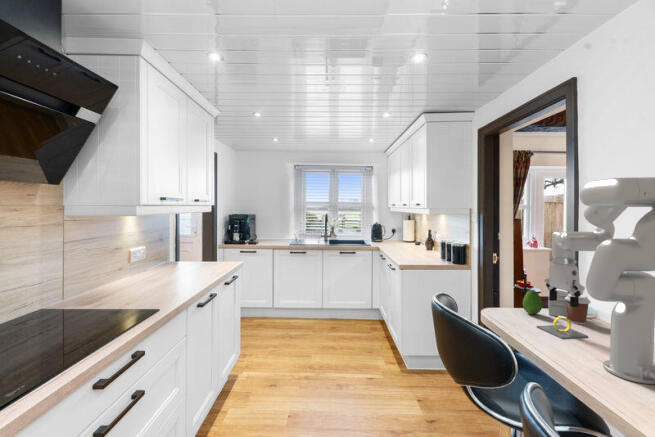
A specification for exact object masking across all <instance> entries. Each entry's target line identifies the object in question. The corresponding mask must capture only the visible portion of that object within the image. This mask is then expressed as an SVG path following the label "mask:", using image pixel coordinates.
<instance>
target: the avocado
mask: <svg viewBox="0 0 655 437" xmlns="http://www.w3.org/2000/svg"><path fill="white" fill-rule="evenodd" d="M522 306H523V310H524V311H525V312H526V313H528V314H529V315H536V314H539V313H541V311H542V309H543V301H542V298H541V297H540V294H539V293H538V292H537V291H536V290H535V289H529V290H527V292H526V293H525V294H524V297H523V299H522Z"/></svg>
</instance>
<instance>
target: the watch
mask: <svg viewBox="0 0 655 437" xmlns="http://www.w3.org/2000/svg"><path fill="white" fill-rule="evenodd" d="M559 320H562V321H563V320H566V322H567V326H566V327H567V328H566V329H565V330H559V329H557V328H556V325H557V322H558V321H559ZM552 325H553V326H554V328H555V329H556V330H558V331H564V332H567V331H568V330H570V329H572V322H570V321H569V320H568V317H567V318H566V317H564V316H556V318H554V320H553V321H552Z"/></svg>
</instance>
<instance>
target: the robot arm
mask: <svg viewBox="0 0 655 437" xmlns="http://www.w3.org/2000/svg"><path fill="white" fill-rule="evenodd" d="M579 200H580V201H581V203H582V204H583V205H584V206H587V208H586V209H585V210H584V211H583V217H584V219H585V220H586V221H587V222H588V223H589V224H590V225H593V226H595V227H596V228H595V229H594V230H593V231H554V232H553V233H552V234H551V235H552V236H551V238H552V239H551V240H552V241H551V243H552V244H551V265H550V269H549V277H547V278H545V279H544V282H545V286H546V287H547V291H548V301H549V300H550V301H556V300H557V291H555V290H556V289H557V288H558V289H562V290H566V291H568V294H571V296H570V306H571V307H578V306H579V297H580V295H584V291H585V289H586V291H587V294H588V295H589V297H591V298H592V299H594V300H597V301H599V302H608V303H611V302H613V303H615V304H614V306H613V309H612V310H611V315H610V316H611V318H610V341H609V342H610V344H609V359H608V360H605V361H603V363H602V365H603V366H602V367H603V369H605V370H606V371H607V372H608V373H610V374H612V375H614V376H617V377H618V378H621V379H625V380H627V381H631V382H636V383H639V384H648V385H655V364H654V358H655V357H654V355H655V353H654V352H655V276H654V275H652V274H651V273H649V272H655V177H653V176H651V177H649V176H648V177H646V176H645V177H614V178H606V179H598V180H597V179H596V180H592V181H589V182H586V184H584V186H583V187H582V188H581V190H580V193H579ZM628 208H651V210H649V211H648V212H647V213H645V214H644V215H643V216H642V217H641V218H640V219H639V220H638V221H637V222H636V224H635V226H634V230H633V232H632V233H631V236H630V237H628V238H614V236H615V230H616V228H615V224H614V222H615V221H616V219H618V218H619V217H620V216H621V215H622V214H623V213H624V212H625V211H626V210H627V209H628ZM576 252H594V254H593V257H592V260H591V263H590V265H589V269H588V272H587V275H586V278H585V286H584V285H582V284H581V283H580V274H579V269H578V267H577V265H576V264H577V260H576Z"/></svg>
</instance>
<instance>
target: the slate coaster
mask: <svg viewBox="0 0 655 437" xmlns="http://www.w3.org/2000/svg"><path fill="white" fill-rule="evenodd" d="M567 327H568V326H565V325H563V324H556V328H557V329H559V330H565V329H566V328H567ZM536 328H537V329H539V330H541V331H544V332H546V333H548V334H550V335H553V336H554V337H557V338H559V339H561V340H563V339H579V338H580V339H582V338H584V339H585V338H588V337H589V335H587V334H585V333H582V332H580V331H577V330H575V329H572V328H570V330H568V331H567V332H564V331H558V330H556V329H555V328H554V326H553V324H552V325H549V324H548V325H536Z"/></svg>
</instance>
